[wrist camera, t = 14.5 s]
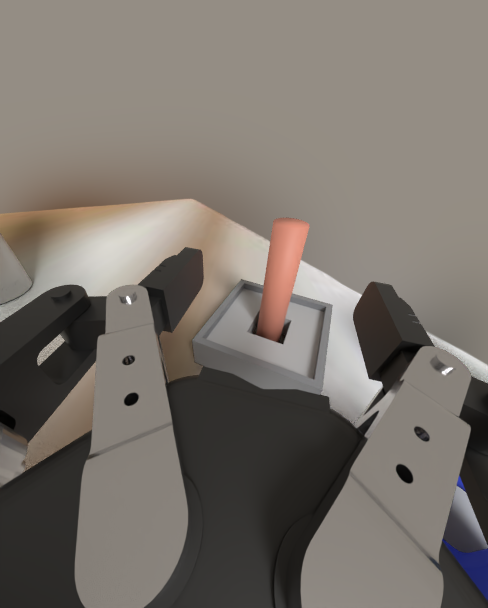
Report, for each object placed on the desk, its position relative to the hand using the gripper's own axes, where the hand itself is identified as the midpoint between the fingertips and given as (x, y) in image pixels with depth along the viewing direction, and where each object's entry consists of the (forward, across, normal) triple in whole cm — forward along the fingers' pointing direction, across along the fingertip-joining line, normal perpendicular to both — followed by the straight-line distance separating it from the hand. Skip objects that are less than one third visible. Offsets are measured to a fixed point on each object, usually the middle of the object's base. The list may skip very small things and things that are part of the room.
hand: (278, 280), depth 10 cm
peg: (+10, -1, +17) cm, 20 cm away
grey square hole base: (+10, -1, +17) cm, 20 cm away
